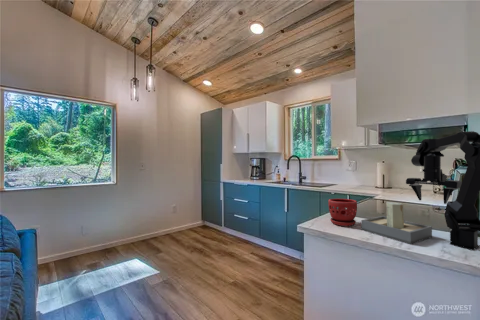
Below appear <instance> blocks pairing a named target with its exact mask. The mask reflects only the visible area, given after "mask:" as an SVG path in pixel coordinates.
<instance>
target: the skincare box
mask: <svg viewBox="0 0 480 320" xmlns="http://www.w3.org/2000/svg"><path fill="white" fill-rule="evenodd" d="M385 203H386V217H387V226H389V227H393V228H397V229H403V228H404V221H405V220H404V218H405V217H404V204H402V203H400V202H398V201H397V202H393V201H386V202H385Z"/></svg>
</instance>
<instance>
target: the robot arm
mask: <svg viewBox="0 0 480 320" xmlns="http://www.w3.org/2000/svg"><path fill="white" fill-rule="evenodd" d="M458 145H459V149H460V151H462V152H463V153H464V157H463V158H464V160H465V162H466V165H467V167H466V169H465V173H464V176H463V179H462V181H461V180H454V179H453V180H452V179H449V180H447V178H448V175H447V174H445V173H443V169H441V167H442V164H441V158H442V157H445V155H444V154H443V153H442V151H445V150H446V149H447V148H449V147H453V146H458ZM411 164H412V165H413V166H416V167H423V168H422V170H421V171H422V172H423V178H422V179H421V177H408V178H406V180H405V184H406V185H408V186H409V187H411V188H412V190H413V192H414V194H415V195H416V197H417V199H418V201H422V197H423V196H422V187H423V185H430V186H431V185H433V186H444V187H443V189H442V190H443V204H444V205H446V206H445V208H444V210H443V211H444V214H443V215H444V220H445V223H446V226H447V227H448V228H449V229H450V231H449V238H450V239H449V241H450V242H449V244H450V245H452V246H455V247H459V248H460V247H461V248H463V249H468V250H471V251H472V250H474V251H475V250H477V249H478V248H480V245H479V242H478V241H479V240H478V239H479V236H478V234H479V232H480V219H479V217H478V215H479V213H478V209H477V208H476V206H475V205H476V201H477V199H478V196H479V193H480V134H479V132H476V131H474V130H471V131H469V130H467V131H459V132H457V133H454V134H451V135H447V136H443V137H439V138H424V139H422V141H421V142H420V144H419V146H418V148H417V150H416V152H415V155H413V156H412V158H411ZM455 190H458V194H457V197H456V199H455V200H454V201H453V200H452V201H449V198H450V196H451V195H452V193H454V191H455Z"/></svg>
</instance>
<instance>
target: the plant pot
mask: <svg viewBox="0 0 480 320" xmlns="http://www.w3.org/2000/svg"><path fill="white" fill-rule="evenodd" d="M327 202H328V211H329V215H330V216H331V218H330V219H329V220H330V222H331V223H332V224H333V225H337V226H343V227H351V226H354V225H355V224H356V222H357V221H356V219H355V218H356V216H357V212H358V202H357V200H355V199H349V198H329V199H328V201H327Z"/></svg>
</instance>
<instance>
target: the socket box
mask: <svg viewBox="0 0 480 320" xmlns="http://www.w3.org/2000/svg"><path fill="white" fill-rule="evenodd" d="M361 231H364V232H368V233H370V234H374V235H377V236H381V237H385V238H387V239H390V240H394V241H397V242H401V243H405V244H407V245H413V244H416V243H419V242H423V241H425V240H429V239H432V238H433V226H431V225H426V224H422V223H417V222H413V221H409V220H404V228H403V229H397V228H393V227H389V226H387V215H386V216H385V215H380V216H375V217H369V218H365V219H361Z"/></svg>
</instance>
